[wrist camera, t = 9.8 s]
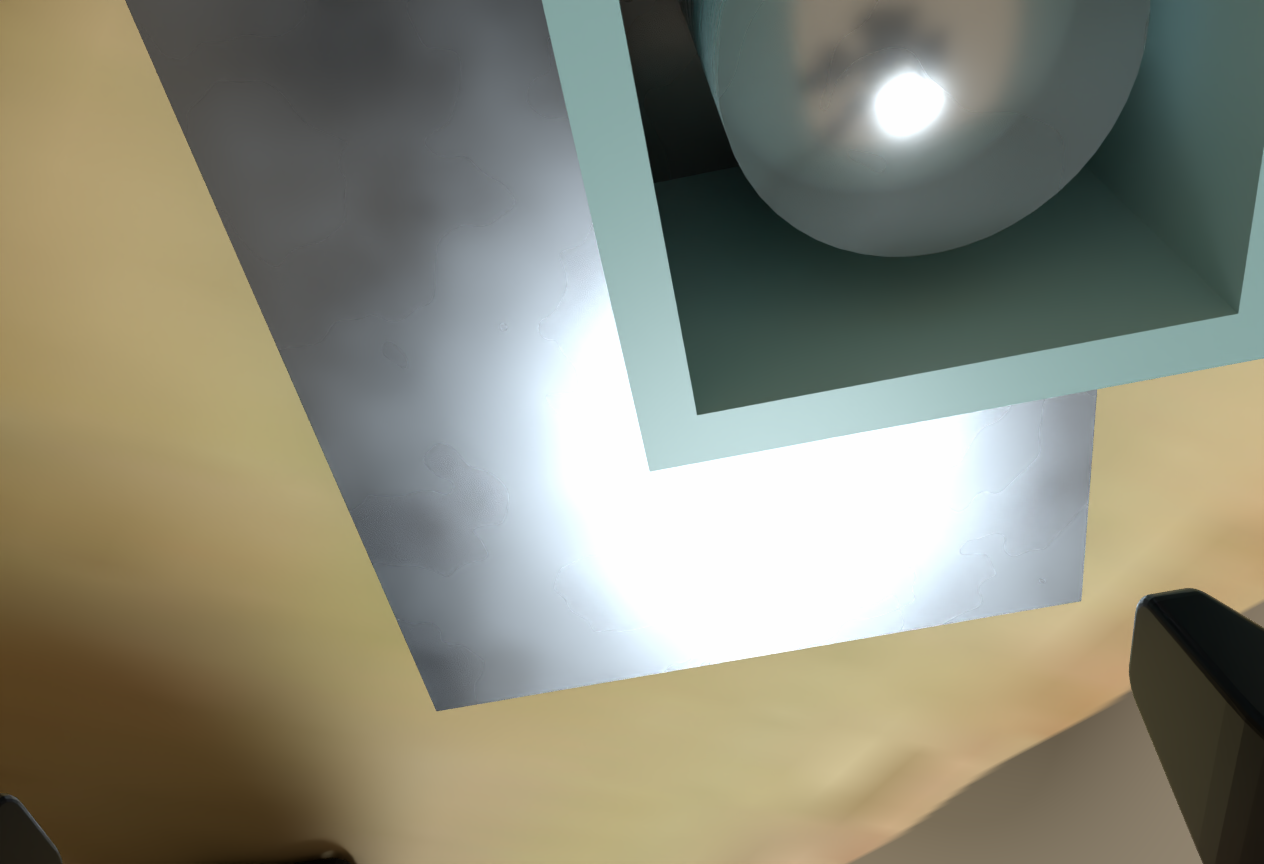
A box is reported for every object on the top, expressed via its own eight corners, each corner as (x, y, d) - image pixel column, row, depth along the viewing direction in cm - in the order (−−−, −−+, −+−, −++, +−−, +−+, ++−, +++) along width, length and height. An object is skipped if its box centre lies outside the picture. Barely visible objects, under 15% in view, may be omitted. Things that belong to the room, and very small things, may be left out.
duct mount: (1052, 549, 23) (1204, 822, 17) (442, 656, 24) (409, 947, 18) (1108, -510, 13) (1492, -626, 8) (59, -268, 14) (-252, -219, 8)
